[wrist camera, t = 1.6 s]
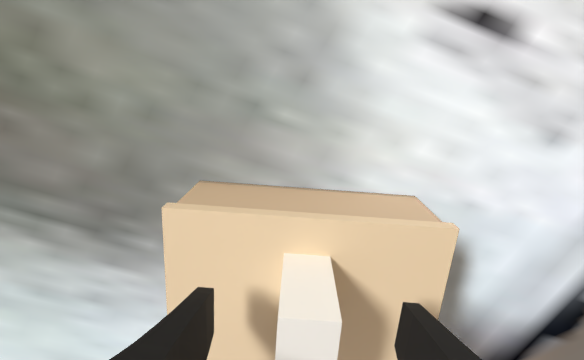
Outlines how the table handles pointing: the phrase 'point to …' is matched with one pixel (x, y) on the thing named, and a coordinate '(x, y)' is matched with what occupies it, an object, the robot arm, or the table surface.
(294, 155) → the table surface
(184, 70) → the table surface
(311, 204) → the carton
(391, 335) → the lid
